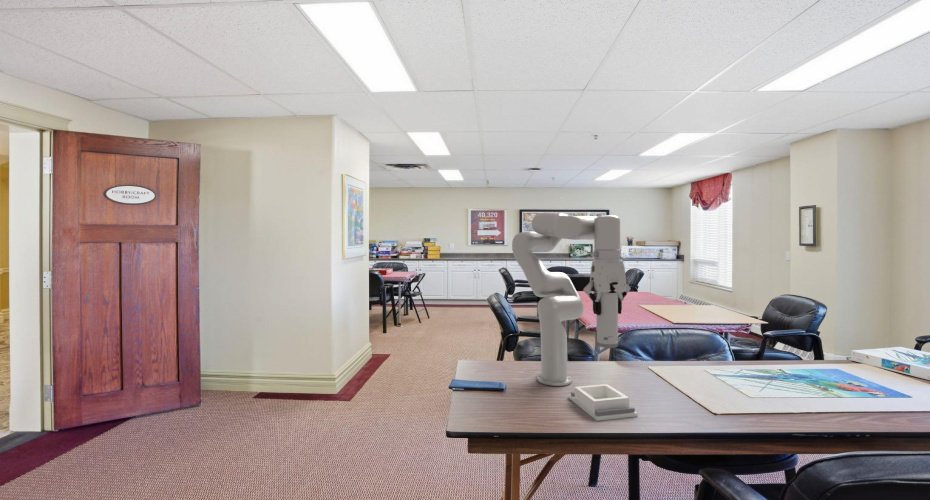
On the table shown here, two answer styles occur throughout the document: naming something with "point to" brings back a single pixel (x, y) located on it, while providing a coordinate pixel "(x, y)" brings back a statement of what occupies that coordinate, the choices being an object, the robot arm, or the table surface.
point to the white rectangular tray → (602, 402)
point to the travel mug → (608, 319)
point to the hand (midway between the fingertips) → (607, 313)
